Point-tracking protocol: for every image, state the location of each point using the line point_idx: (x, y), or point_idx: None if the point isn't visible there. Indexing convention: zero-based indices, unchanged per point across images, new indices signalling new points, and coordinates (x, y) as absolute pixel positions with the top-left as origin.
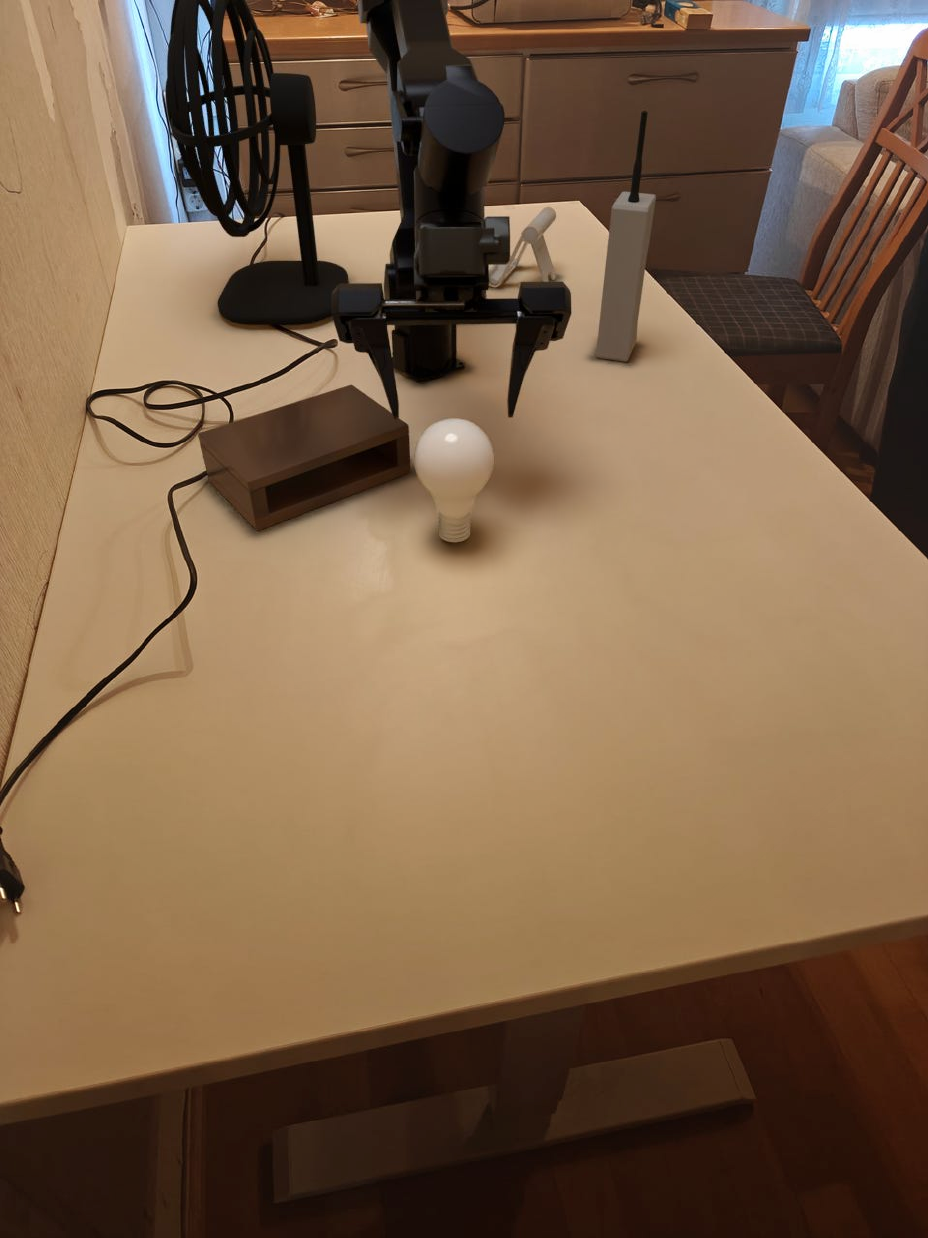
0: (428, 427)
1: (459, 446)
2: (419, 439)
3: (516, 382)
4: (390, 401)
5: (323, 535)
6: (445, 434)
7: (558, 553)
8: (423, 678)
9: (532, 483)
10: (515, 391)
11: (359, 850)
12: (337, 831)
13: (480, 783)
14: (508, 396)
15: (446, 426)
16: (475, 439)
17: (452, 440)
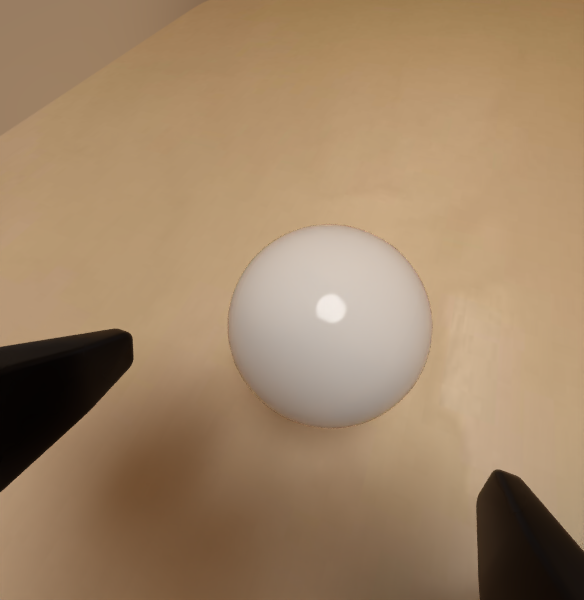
0: (392, 350)
1: (334, 227)
2: (422, 340)
3: (12, 353)
4: (556, 521)
5: (559, 471)
6: (363, 252)
7: (210, 294)
8: (436, 161)
9: (140, 482)
10: (50, 345)
11: (515, 45)
12: (532, 57)
13: (412, 72)
14: (83, 359)
15: (351, 275)
16: (283, 239)
17: (349, 233)
